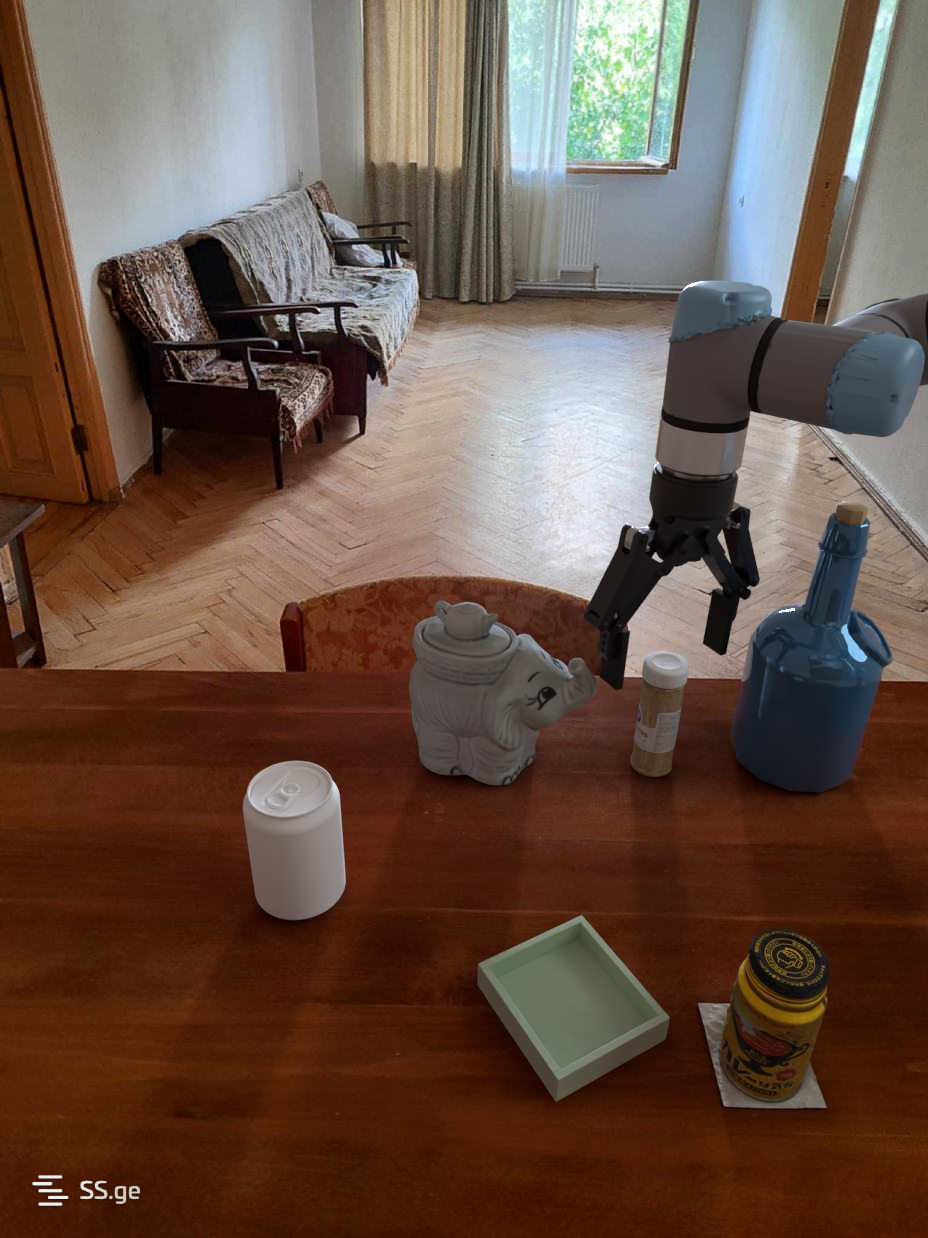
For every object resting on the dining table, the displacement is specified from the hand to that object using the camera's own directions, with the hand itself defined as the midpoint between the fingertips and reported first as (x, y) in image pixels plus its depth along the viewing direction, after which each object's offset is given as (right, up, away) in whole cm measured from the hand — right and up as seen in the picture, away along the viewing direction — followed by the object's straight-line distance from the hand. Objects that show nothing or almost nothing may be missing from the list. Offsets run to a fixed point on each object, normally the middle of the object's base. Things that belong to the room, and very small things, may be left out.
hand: (664, 665), depth 90 cm
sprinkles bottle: (0, -11, +6) cm, 13 cm away
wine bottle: (+16, -11, +8) cm, 21 cm away
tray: (-12, -26, -20) cm, 35 cm away
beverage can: (-35, -20, -10) cm, 42 cm away
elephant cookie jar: (-17, -11, +6) cm, 21 cm away
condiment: (+2, -28, -23) cm, 37 cm away
